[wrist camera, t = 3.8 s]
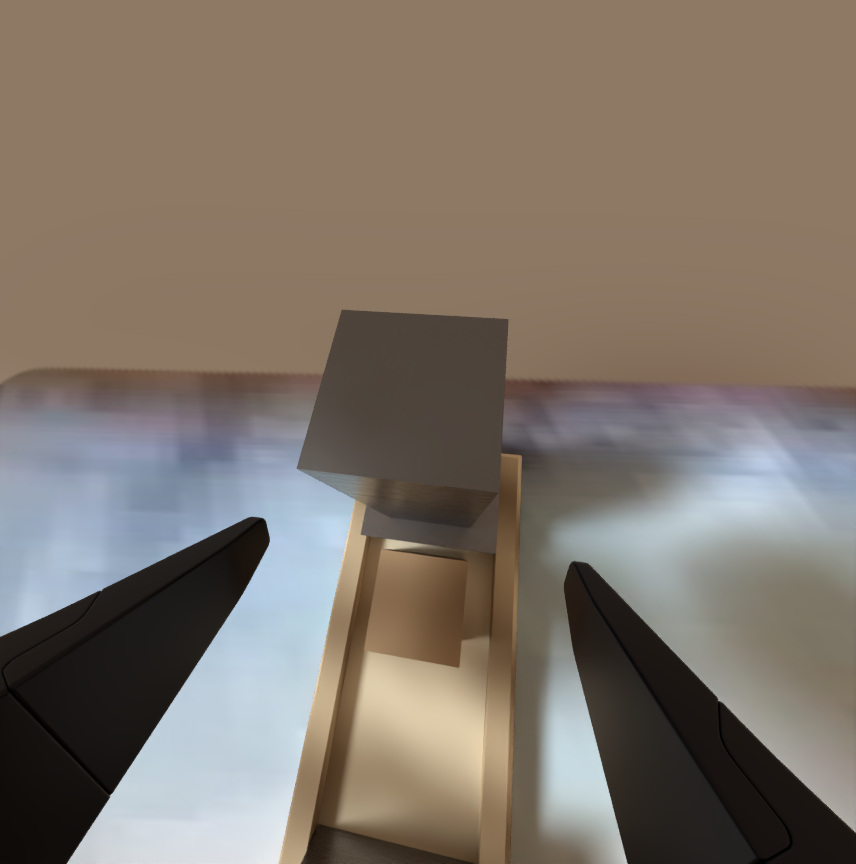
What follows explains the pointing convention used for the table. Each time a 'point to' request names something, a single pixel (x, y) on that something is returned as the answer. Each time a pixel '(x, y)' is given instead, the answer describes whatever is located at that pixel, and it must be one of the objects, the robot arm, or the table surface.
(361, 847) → the block
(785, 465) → the table surface
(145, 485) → the table surface
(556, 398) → the table surface
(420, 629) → the walnut block
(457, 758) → the wooden tray
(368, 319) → the block
